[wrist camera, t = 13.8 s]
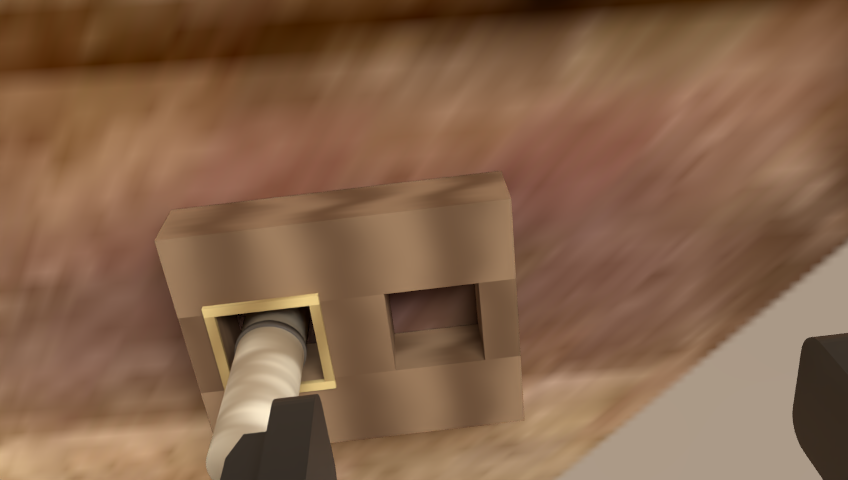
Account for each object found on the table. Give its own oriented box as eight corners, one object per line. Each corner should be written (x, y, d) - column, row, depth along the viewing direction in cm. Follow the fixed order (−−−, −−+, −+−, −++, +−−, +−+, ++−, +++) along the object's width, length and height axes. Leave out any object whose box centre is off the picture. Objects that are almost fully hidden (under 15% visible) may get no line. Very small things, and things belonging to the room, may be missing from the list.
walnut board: (501, 170, 47) (511, 200, 43) (514, 381, 54) (525, 423, 51) (171, 210, 47) (153, 243, 43) (230, 415, 54) (218, 459, 51)
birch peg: (306, 278, 50) (281, 427, 37) (317, 333, 52) (298, 491, 39) (240, 286, 50) (194, 437, 37) (254, 340, 52) (214, 501, 39)
